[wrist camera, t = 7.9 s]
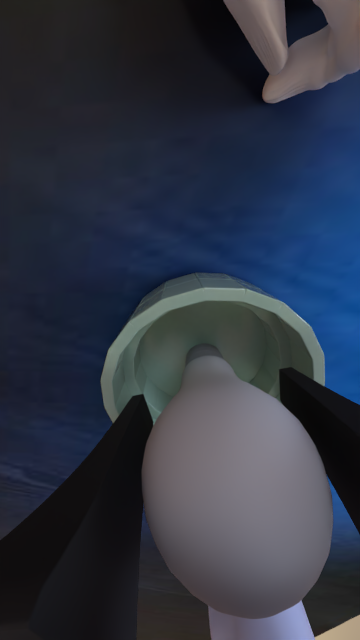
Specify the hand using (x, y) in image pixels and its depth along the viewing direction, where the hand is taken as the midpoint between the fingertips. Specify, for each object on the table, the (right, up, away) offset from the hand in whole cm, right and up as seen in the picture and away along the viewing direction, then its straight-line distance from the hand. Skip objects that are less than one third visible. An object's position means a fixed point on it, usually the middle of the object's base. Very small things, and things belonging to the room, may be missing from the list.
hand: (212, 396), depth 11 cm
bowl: (0, +2, +5) cm, 5 cm away
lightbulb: (0, +2, +4) cm, 5 cm away
